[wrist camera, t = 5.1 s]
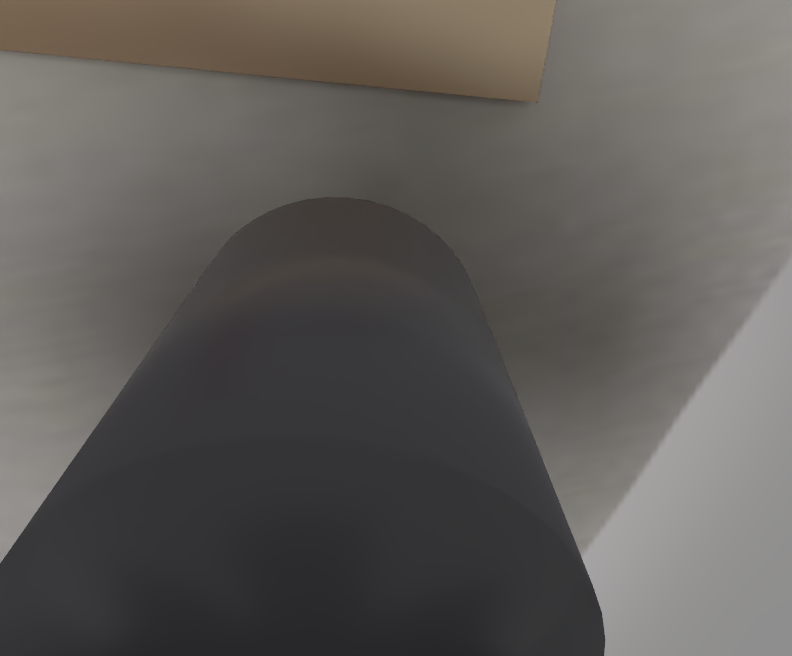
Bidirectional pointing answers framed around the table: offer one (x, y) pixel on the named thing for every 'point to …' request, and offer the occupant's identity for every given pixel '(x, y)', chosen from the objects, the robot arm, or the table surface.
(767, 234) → the table surface
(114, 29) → the cork mat
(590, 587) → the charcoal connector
